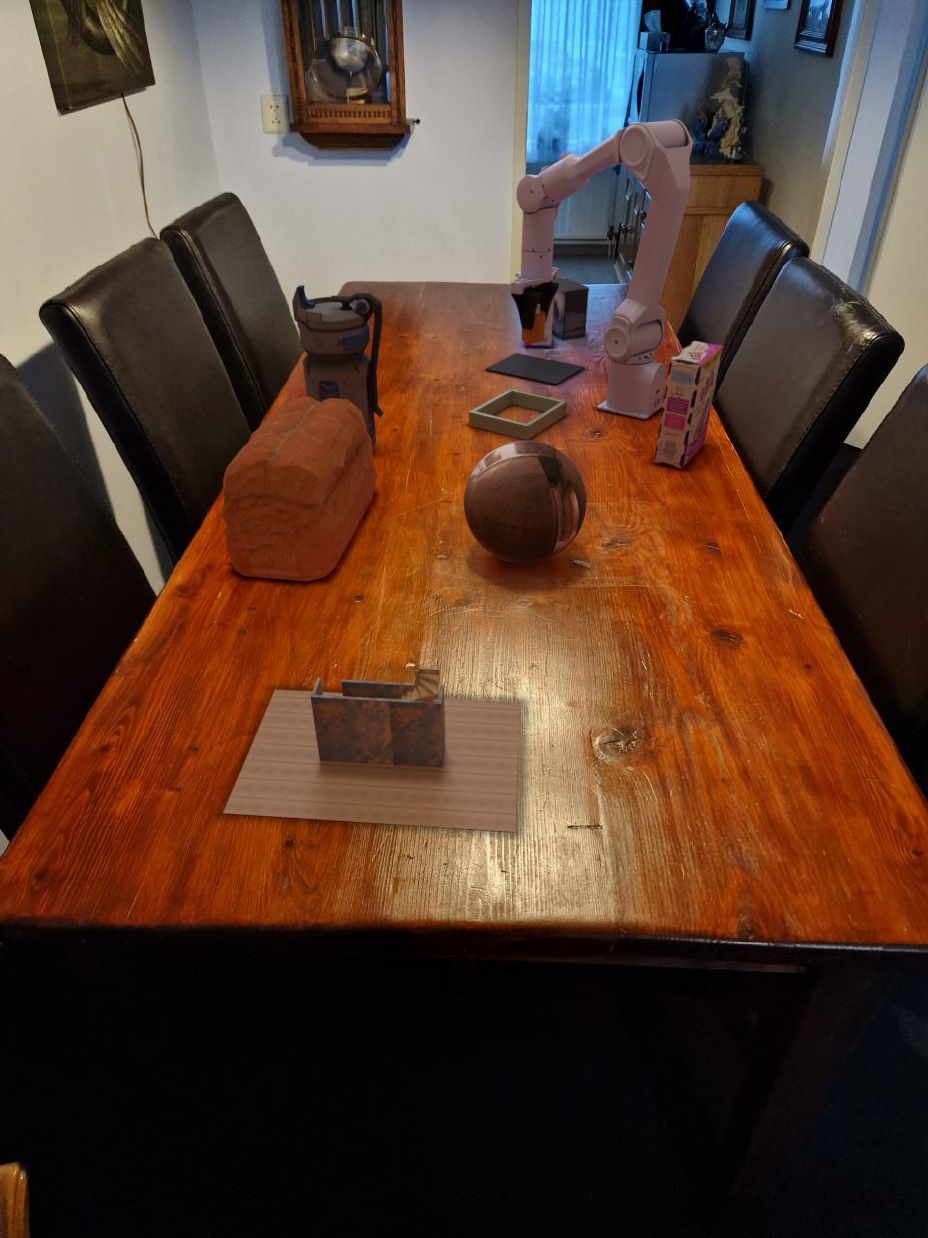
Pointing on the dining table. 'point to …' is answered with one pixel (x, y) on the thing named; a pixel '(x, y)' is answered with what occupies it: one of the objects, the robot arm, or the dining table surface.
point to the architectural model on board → (384, 757)
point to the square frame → (486, 421)
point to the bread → (298, 490)
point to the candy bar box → (687, 403)
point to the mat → (535, 369)
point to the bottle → (535, 328)
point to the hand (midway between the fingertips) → (533, 325)
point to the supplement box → (547, 334)
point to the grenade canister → (341, 349)
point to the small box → (569, 309)
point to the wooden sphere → (525, 502)
